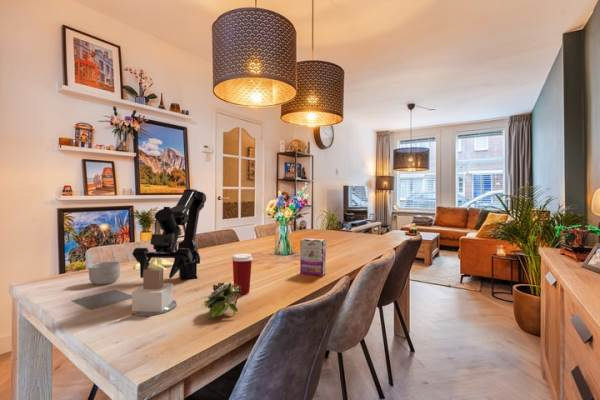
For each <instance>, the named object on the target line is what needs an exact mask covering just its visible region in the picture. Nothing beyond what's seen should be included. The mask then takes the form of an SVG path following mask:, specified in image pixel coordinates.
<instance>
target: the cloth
mask: <svg viewBox="0 0 600 400" xmlns="http://www.w3.org/2000/svg"><path fill="white" fill-rule="evenodd" d="M149 263H150V264H149V266H148V268H163V271H166V270H167V268H168V267H169V268H172V266H173V263H174V262H171V261H169V260H167V259H164V258H152V260H150V261H149ZM133 269H134V270H140V263H139V262H138V263H136V264H135V265H134V267H133Z"/></svg>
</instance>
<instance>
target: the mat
mask: <svg viewBox="0 0 600 400" xmlns="http://www.w3.org/2000/svg"><path fill="white" fill-rule="evenodd" d="M130 299H131V300H132V294H129V293H127V292H123V291H120V290H118V289H112V290H111V289H110V290H107V291H104V292H100V293H95V294H91V295H88V296H84V297H79V298H75V299H71V302H72V303H75V304H77V305H79V306H82V307H83V308H85V309H88V310H90V311H93V310H96V309H101V308H105V307H107V306H110V305H115V304H117V303H121V302H124V301H127V300H130Z"/></svg>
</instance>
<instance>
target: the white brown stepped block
mask: <svg viewBox="0 0 600 400" xmlns="http://www.w3.org/2000/svg"><path fill="white" fill-rule="evenodd" d="M142 280H143V281H142V285H141V286H140V287H137V288H136V289H134V290H133V291H132V292H131V295H132V299H131V312H162V311H163V310H164V309H165V308H166V307H167V306H168V305H169V304H170V303H171V302H172V301H173V299H174V294H173V293H174V283H164V270H163V268H147V269H145V270H143V278H142Z"/></svg>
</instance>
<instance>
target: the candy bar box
mask: <svg viewBox="0 0 600 400" xmlns="http://www.w3.org/2000/svg"><path fill="white" fill-rule="evenodd" d="M326 249H327V239H324V238H309V237H308V238H307V237H304V238H301V239H300V257H299V261H300V269H299V271H300V272H299V273H300V275H306V274H308V275H307V276H315V275H316V277H324V276H325V275H326V272H327V271H326V270H327V269H326V267H327V266H326V265H327V264H326V260H327V258H326V255H327V254H326V252H327V250H326ZM324 274H325V275H324Z"/></svg>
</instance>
